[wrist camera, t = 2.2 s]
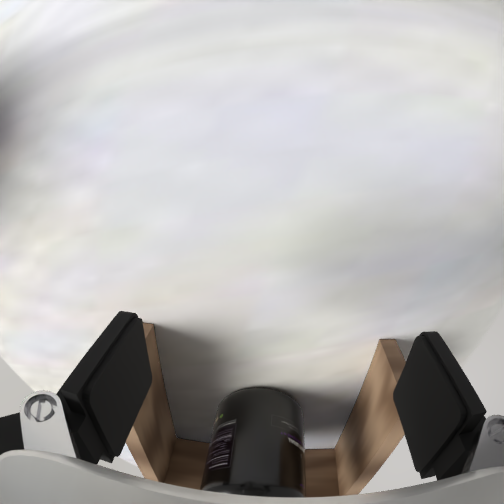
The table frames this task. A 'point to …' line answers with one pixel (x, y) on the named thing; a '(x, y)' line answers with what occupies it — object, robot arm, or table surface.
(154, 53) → the table surface
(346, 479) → the walnut u-shaped bracket
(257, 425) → the supplement bottle
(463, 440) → the robot arm
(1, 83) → the table surface
